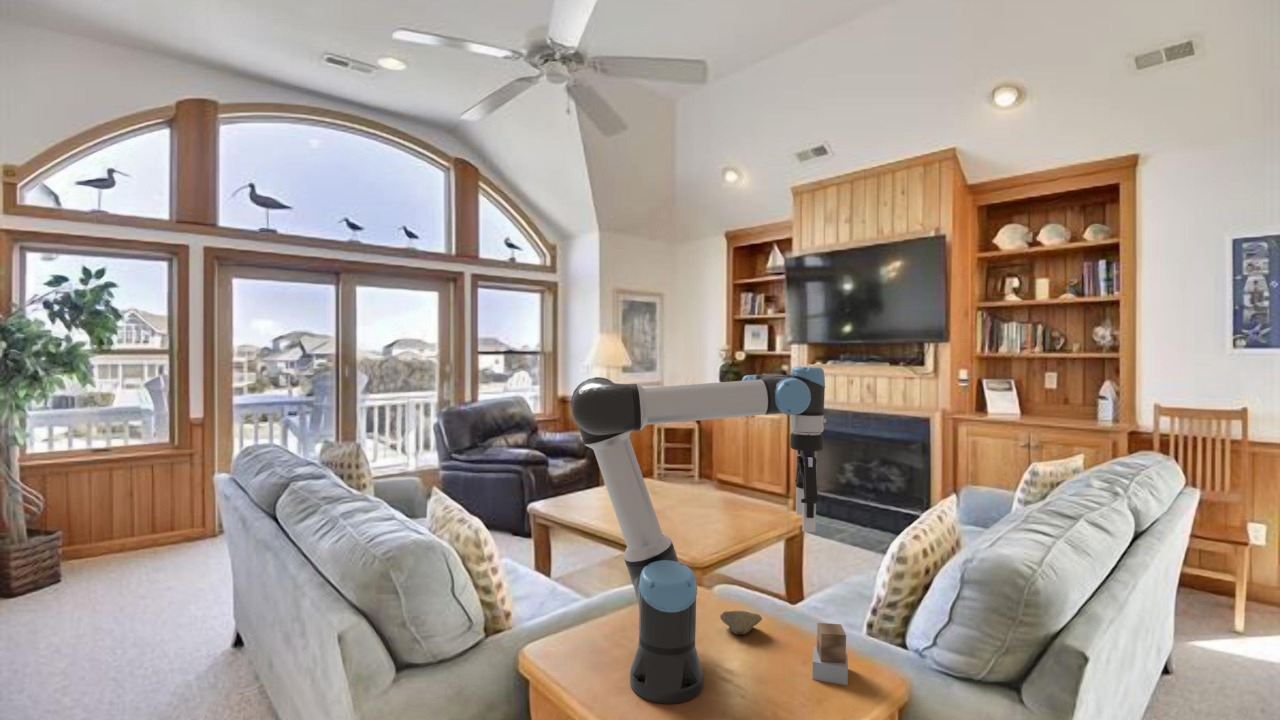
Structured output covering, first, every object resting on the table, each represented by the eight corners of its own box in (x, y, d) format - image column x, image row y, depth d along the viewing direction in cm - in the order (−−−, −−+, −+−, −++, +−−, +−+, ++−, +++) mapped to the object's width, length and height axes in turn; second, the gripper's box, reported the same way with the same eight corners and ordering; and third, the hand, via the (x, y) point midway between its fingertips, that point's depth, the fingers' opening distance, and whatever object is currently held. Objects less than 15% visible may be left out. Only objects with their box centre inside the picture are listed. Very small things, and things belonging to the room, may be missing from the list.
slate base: (812, 680, 126) (812, 661, 126) (813, 664, 132) (813, 646, 132) (847, 686, 124) (847, 667, 124) (846, 669, 130) (847, 651, 130)
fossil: (766, 612, 144) (728, 606, 143) (768, 631, 141) (728, 624, 140) (752, 624, 151) (714, 618, 149) (753, 642, 148) (715, 636, 146)
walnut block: (820, 661, 126) (821, 633, 126) (816, 649, 131) (817, 622, 131) (845, 663, 125) (846, 635, 125) (840, 651, 130) (841, 624, 130)
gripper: (832, 441, 127) (830, 540, 127) (815, 426, 152) (814, 509, 152) (796, 439, 128) (794, 538, 128) (785, 425, 153) (784, 508, 153)
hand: (805, 522), depth 140 cm, fingers open, 13 cm apart
